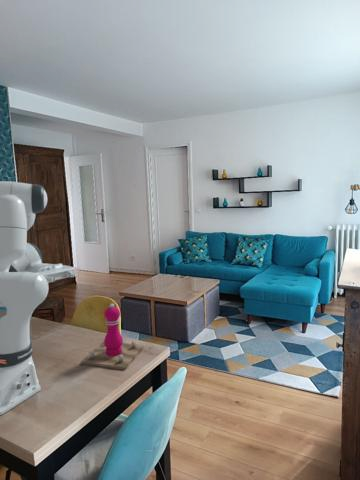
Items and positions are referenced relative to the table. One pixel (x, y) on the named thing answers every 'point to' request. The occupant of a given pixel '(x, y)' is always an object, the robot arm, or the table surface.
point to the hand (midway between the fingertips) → (63, 277)
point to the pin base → (116, 362)
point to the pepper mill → (113, 332)
